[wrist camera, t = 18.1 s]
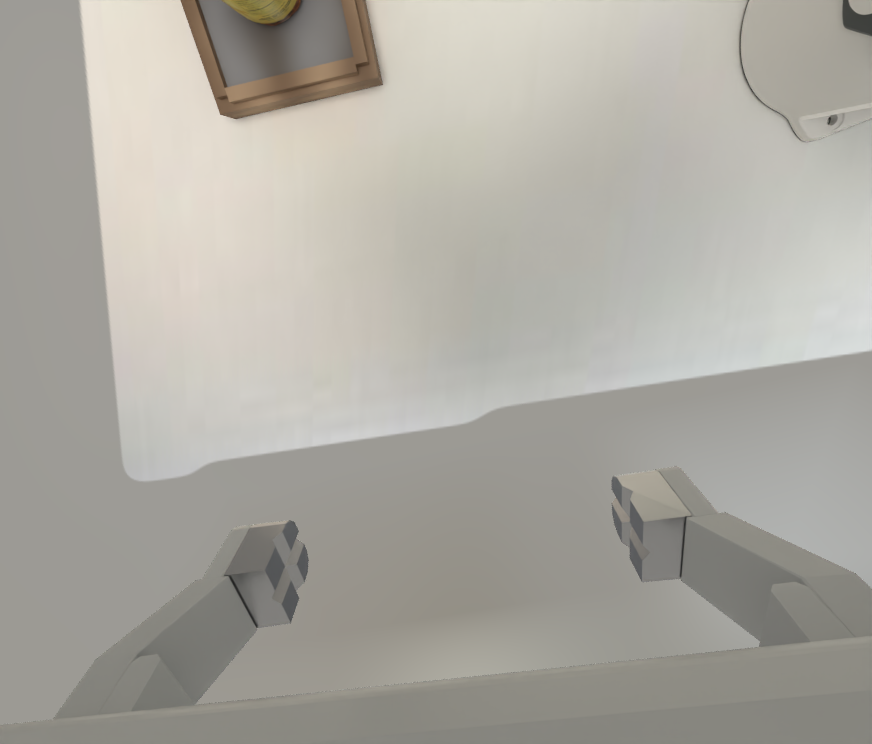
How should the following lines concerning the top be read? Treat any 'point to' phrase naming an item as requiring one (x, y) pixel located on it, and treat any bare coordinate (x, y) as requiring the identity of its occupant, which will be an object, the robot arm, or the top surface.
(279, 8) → the sauce bottle
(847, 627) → the robot arm
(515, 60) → the top surface
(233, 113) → the tray
